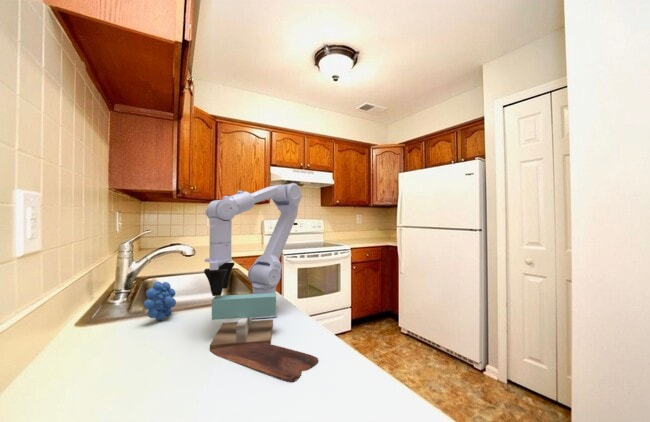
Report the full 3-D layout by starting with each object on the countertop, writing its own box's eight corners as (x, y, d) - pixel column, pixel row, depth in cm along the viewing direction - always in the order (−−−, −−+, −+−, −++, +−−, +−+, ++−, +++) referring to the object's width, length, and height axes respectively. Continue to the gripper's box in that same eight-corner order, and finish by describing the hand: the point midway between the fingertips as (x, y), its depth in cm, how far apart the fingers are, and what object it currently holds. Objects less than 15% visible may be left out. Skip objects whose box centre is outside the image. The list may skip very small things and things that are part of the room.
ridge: (222, 326, 77) (222, 308, 77) (272, 323, 79) (272, 305, 79) (209, 349, 63) (209, 327, 63) (270, 344, 65) (270, 323, 65)
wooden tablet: (201, 346, 63) (235, 326, 71) (202, 355, 63) (236, 334, 71) (292, 381, 49) (320, 351, 58) (293, 392, 49) (321, 360, 58)
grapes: (158, 329, 75) (158, 286, 76) (137, 327, 77) (137, 285, 77) (186, 314, 87) (186, 277, 87) (168, 313, 88) (168, 276, 88)
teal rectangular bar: (276, 311, 74) (276, 292, 74) (275, 315, 71) (275, 296, 71) (215, 315, 72) (215, 296, 72) (211, 320, 68) (211, 300, 68)
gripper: (212, 240, 82) (212, 286, 81) (197, 245, 67) (196, 300, 67) (236, 240, 83) (236, 285, 82) (226, 244, 68) (226, 298, 68)
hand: (220, 291), depth 75 cm, fingers open, 7 cm apart
